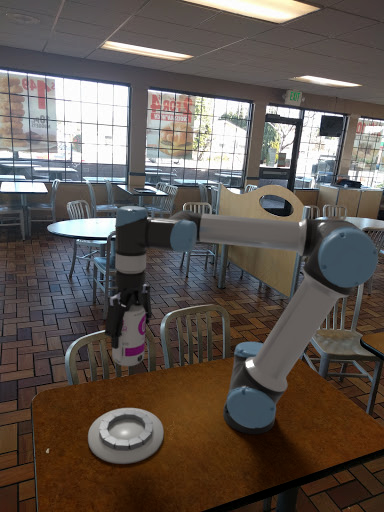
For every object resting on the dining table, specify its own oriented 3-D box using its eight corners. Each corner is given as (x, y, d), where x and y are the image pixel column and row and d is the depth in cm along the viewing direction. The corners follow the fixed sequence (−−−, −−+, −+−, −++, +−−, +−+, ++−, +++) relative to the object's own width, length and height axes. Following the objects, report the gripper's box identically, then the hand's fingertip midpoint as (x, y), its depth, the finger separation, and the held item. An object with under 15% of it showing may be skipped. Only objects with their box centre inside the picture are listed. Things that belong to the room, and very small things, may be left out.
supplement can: (147, 353, 107) (149, 302, 103) (139, 369, 99) (140, 314, 95) (118, 349, 108) (119, 299, 104) (108, 365, 100) (108, 311, 96)
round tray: (177, 428, 109) (177, 419, 108) (132, 476, 92) (132, 466, 92) (121, 403, 119) (121, 395, 118) (71, 442, 102) (71, 433, 101)
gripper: (145, 258, 107) (143, 333, 113) (87, 275, 90) (88, 363, 96) (167, 263, 104) (164, 341, 109) (111, 282, 86) (111, 373, 92)
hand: (128, 351), depth 103 cm, fingers closed on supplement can, 8 cm apart
